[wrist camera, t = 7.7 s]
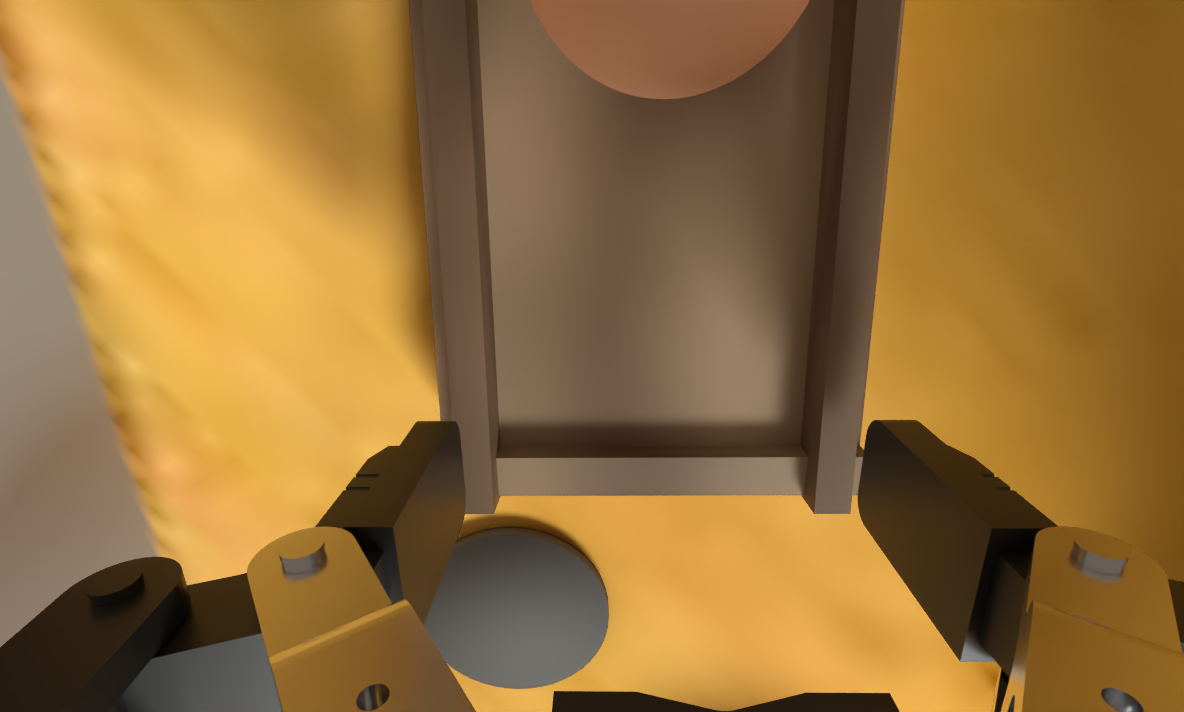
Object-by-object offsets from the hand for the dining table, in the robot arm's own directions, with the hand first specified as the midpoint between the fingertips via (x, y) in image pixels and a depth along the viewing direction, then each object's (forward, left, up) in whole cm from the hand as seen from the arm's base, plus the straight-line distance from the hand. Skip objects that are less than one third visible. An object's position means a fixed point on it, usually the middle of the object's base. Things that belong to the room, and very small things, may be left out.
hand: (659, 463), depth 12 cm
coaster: (+4, +8, -5) cm, 10 cm away
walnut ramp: (0, -4, -5) cm, 6 cm away
